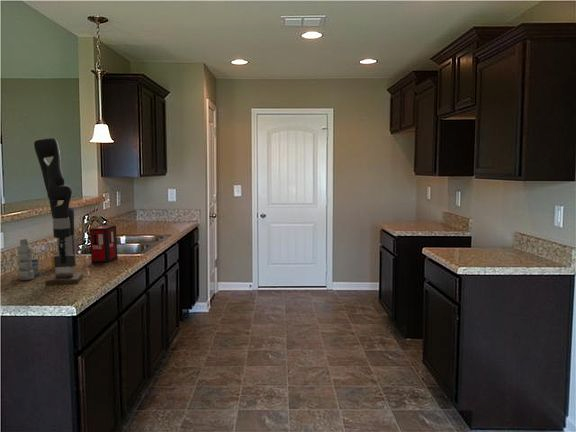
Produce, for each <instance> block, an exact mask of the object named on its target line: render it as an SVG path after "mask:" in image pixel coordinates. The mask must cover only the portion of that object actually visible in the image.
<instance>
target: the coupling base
mask: <svg viewBox="0 0 576 432" xmlns="http://www.w3.org/2000/svg"><path fill="white" fill-rule="evenodd" d="M73 274H74V275H73V276H71V277H66V278H56V276H55V274H52V275H50V277H48V279H46V280H45V286H56V285H57V286H59V285H72V284H75V283H76V284H79V282H80V281H81V280H82V279H83V277H84V273H83V272H81V273H78V272H77V273H73ZM81 278H82V279H81Z"/></svg>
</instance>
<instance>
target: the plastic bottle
mask: <svg viewBox="0 0 576 432" xmlns="http://www.w3.org/2000/svg"><path fill="white" fill-rule="evenodd" d="M19 245H20V246H18V249H17V256H18V261H19V262H20V271H19V270H18V278H19V279H20V280H21V281H30V280H33V279H34V271H33V266H32V259H33V247H32V246H31V245H30V241H29V239H28V238H27V239H26V238H25V239H20V240H19Z"/></svg>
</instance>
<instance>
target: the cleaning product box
mask: <svg viewBox="0 0 576 432" xmlns="http://www.w3.org/2000/svg"><path fill="white" fill-rule="evenodd" d="M117 239H118V238H117V226H116V225H98V226H96V227H91V228H90V229H89V241H90V242H89V243H90V255H91V256H90V259H91V260H90V261H91V264H92V265H93V263H107V264H109V263H111V262H114V261H115V260H117V259H118V243H117V241H118V240H117Z"/></svg>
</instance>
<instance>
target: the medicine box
mask: <svg viewBox="0 0 576 432" xmlns="http://www.w3.org/2000/svg"><path fill="white" fill-rule="evenodd" d="M17 262H18V272H19V271H20V262H19V260H18V261H17ZM32 266H33V271H34V277H38V276H40V272H39V271H40V270H39V259H38V258H32ZM34 277H33V278H34Z"/></svg>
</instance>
